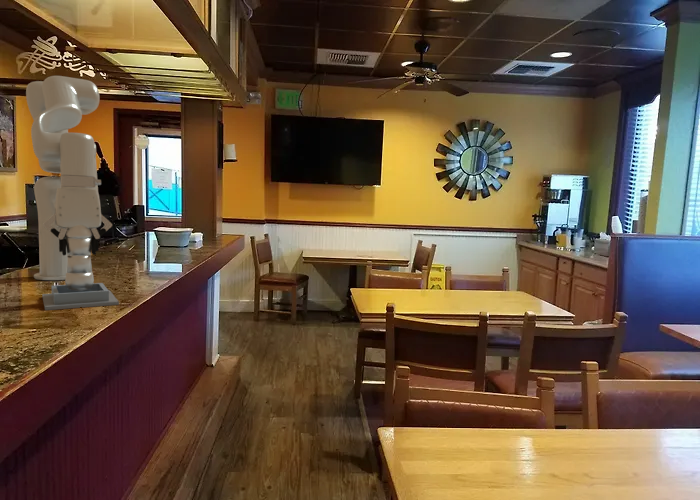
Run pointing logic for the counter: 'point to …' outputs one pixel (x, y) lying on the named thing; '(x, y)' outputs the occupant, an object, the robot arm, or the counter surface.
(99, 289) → the blue-grey square tray
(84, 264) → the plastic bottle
